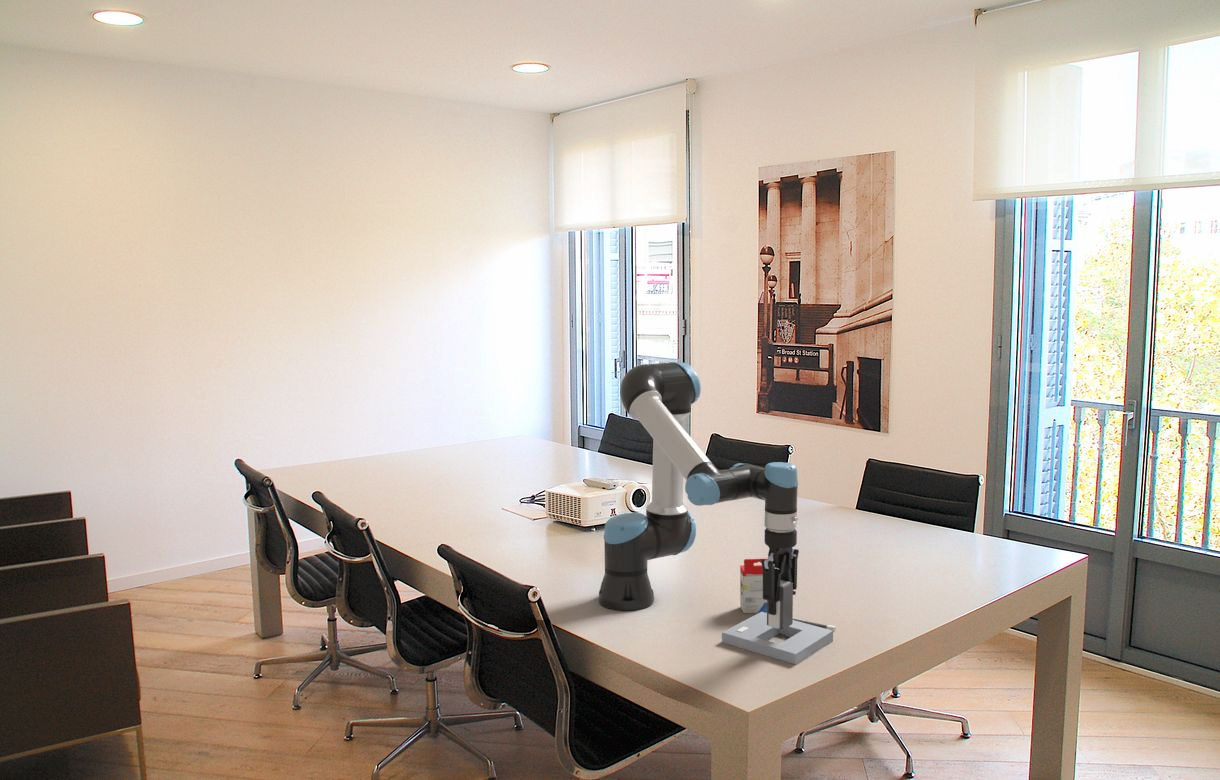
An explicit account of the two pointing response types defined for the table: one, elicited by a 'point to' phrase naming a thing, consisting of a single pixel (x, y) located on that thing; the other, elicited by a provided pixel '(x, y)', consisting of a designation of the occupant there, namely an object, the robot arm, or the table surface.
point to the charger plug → (784, 604)
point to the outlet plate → (757, 633)
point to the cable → (819, 625)
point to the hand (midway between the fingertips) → (779, 623)
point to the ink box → (752, 587)
